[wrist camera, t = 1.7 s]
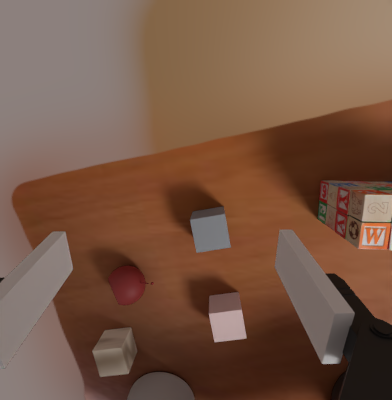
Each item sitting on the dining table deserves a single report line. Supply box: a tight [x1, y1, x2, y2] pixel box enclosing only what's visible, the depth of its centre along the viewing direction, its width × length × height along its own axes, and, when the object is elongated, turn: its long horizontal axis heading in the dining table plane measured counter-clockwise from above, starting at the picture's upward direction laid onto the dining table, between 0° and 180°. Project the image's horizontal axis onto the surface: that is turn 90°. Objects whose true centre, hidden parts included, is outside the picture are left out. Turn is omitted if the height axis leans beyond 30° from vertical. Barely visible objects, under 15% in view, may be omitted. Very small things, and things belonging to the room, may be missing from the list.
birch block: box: [92, 327, 137, 377], centre depth 45 cm, size 5×5×5 cm
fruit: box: [108, 266, 154, 305], centre depth 42 cm, size 6×6×8 cm
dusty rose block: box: [209, 292, 247, 342], centre depth 42 cm, size 5×5×5 cm
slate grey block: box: [190, 206, 231, 252], centre depth 39 cm, size 5×5×5 cm
